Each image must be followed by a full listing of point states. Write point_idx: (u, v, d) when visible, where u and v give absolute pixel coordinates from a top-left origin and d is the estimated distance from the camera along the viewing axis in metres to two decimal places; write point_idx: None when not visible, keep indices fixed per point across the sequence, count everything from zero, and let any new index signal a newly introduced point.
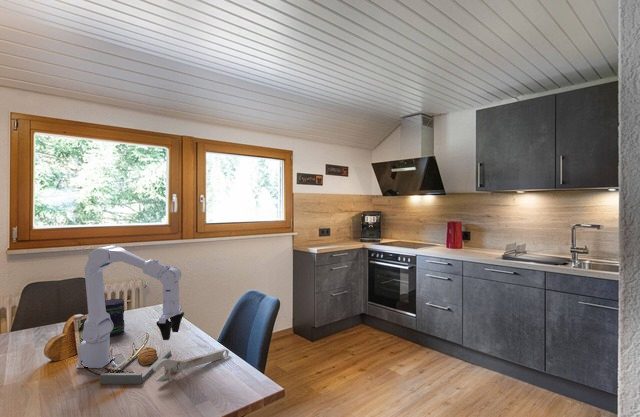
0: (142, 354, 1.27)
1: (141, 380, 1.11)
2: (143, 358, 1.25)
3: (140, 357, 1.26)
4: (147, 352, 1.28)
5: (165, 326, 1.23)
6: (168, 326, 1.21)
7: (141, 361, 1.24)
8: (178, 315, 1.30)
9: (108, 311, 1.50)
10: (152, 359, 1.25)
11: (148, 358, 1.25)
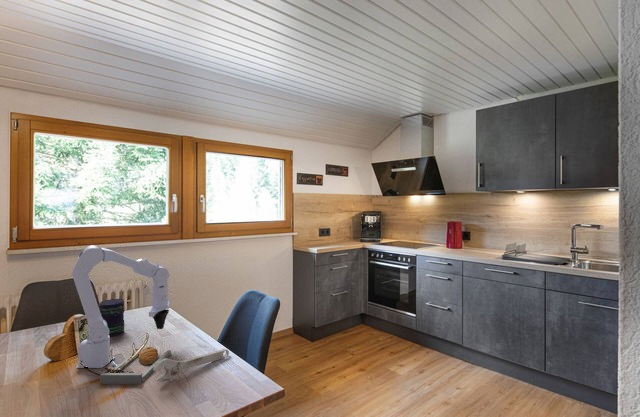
0: (143, 354, 1.27)
1: (141, 380, 1.11)
2: (145, 358, 1.25)
3: (141, 357, 1.26)
4: (148, 352, 1.28)
5: (159, 316, 1.38)
6: (161, 316, 1.36)
7: (143, 361, 1.25)
8: None
9: (108, 311, 1.50)
10: (154, 359, 1.25)
11: (150, 358, 1.25)
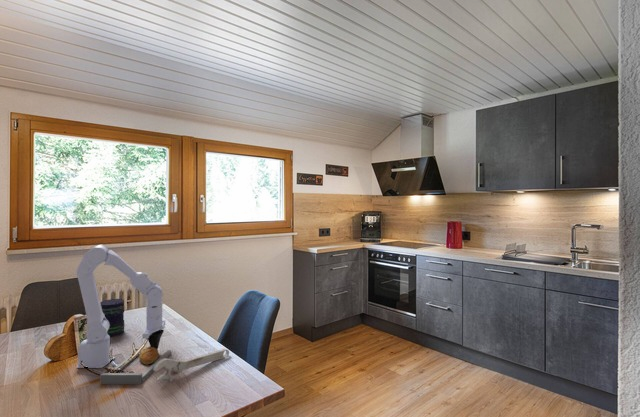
0: (144, 353, 1.27)
1: (141, 380, 1.11)
2: (145, 357, 1.25)
3: (142, 356, 1.26)
4: (149, 351, 1.28)
5: (153, 337, 1.33)
6: (156, 337, 1.32)
7: (143, 360, 1.24)
8: None
9: (108, 311, 1.50)
10: (154, 358, 1.25)
11: (150, 357, 1.25)
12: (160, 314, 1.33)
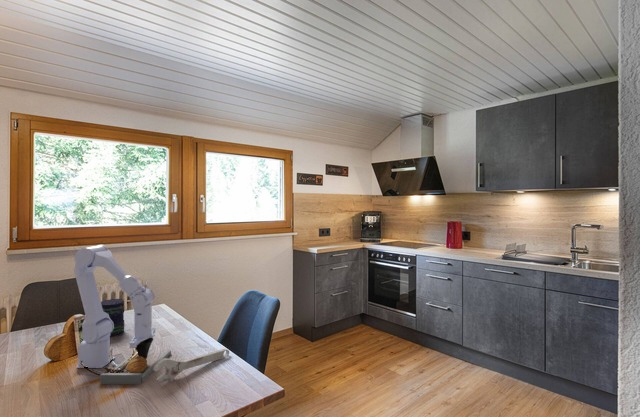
0: (131, 364, 1.18)
1: (141, 380, 1.11)
2: (131, 368, 1.16)
3: (128, 367, 1.17)
4: (136, 362, 1.19)
5: (142, 346, 1.24)
6: (144, 346, 1.23)
7: None
8: None
9: (108, 311, 1.50)
10: (141, 370, 1.17)
11: (136, 369, 1.16)
12: (146, 323, 1.23)
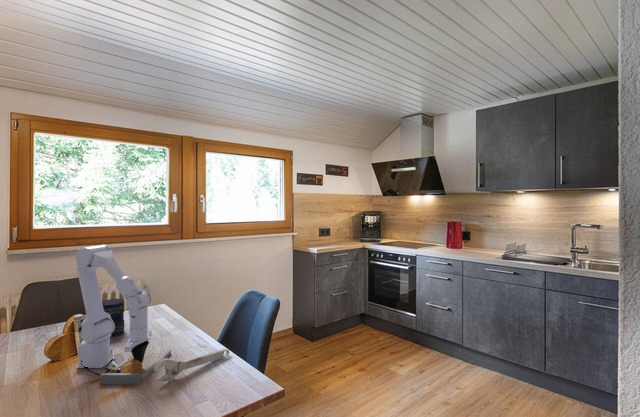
0: (125, 368, 1.16)
1: (141, 380, 1.11)
2: (125, 372, 1.13)
3: (122, 371, 1.15)
4: (131, 366, 1.16)
5: (137, 349, 1.22)
6: (140, 350, 1.20)
7: None
8: None
9: (108, 311, 1.50)
10: None
11: None
12: (140, 326, 1.20)
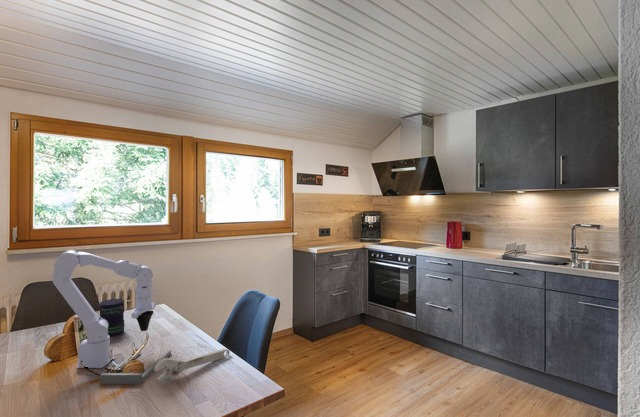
0: (127, 368, 1.16)
1: (141, 380, 1.11)
2: None
3: (125, 371, 1.15)
4: (133, 366, 1.17)
5: (143, 318, 1.33)
6: (145, 318, 1.31)
7: None
8: None
9: (108, 311, 1.50)
10: None
11: None
12: (150, 295, 1.33)
